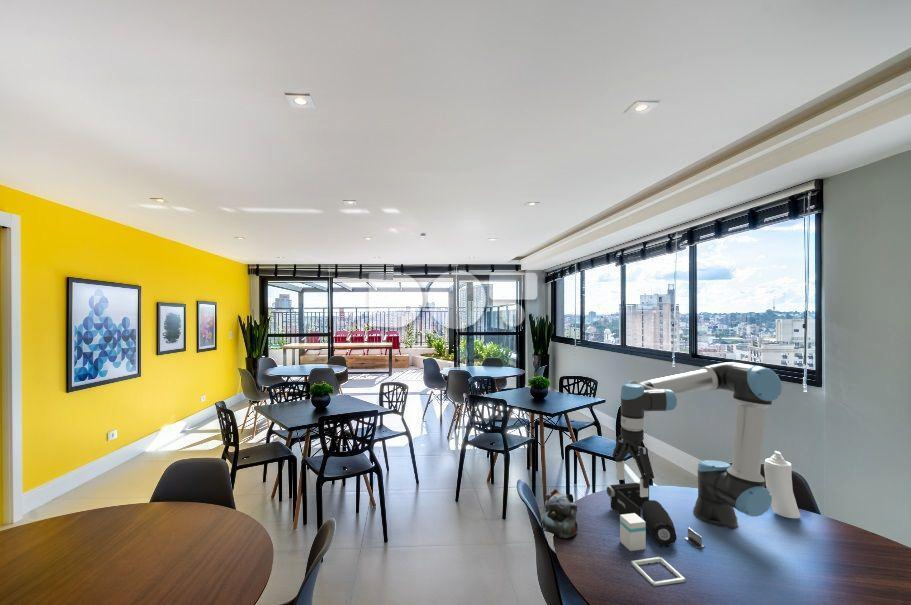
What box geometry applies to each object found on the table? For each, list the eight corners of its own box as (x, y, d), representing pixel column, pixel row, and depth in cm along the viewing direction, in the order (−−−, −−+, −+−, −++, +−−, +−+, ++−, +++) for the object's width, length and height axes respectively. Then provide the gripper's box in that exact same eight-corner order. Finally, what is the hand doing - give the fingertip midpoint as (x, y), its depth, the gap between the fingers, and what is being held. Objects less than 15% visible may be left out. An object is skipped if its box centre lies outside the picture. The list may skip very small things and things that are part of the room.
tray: (660, 562, 135) (660, 556, 135) (685, 584, 125) (685, 578, 125) (631, 566, 133) (631, 560, 133) (653, 590, 122) (653, 583, 122)
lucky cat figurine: (533, 526, 157) (535, 489, 158) (553, 517, 165) (554, 483, 165) (565, 544, 145) (566, 505, 146) (585, 534, 153) (586, 497, 153)
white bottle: (791, 522, 159) (790, 459, 159) (760, 510, 169) (760, 450, 169) (804, 514, 165) (804, 453, 165) (773, 503, 174) (773, 445, 174)
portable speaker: (682, 530, 142) (667, 503, 160) (654, 519, 144) (643, 494, 163) (675, 552, 142) (661, 523, 161) (647, 541, 144) (636, 514, 163)
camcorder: (606, 506, 173) (606, 483, 173) (644, 502, 176) (644, 479, 176) (635, 533, 153) (635, 506, 153) (678, 527, 156) (677, 501, 156)
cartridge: (634, 540, 148) (634, 512, 148) (645, 550, 142) (645, 521, 142) (619, 542, 147) (619, 514, 147) (630, 552, 141) (630, 523, 141)
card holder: (691, 537, 149) (691, 527, 149) (704, 547, 143) (704, 536, 143) (684, 538, 149) (684, 528, 149) (697, 548, 143) (697, 537, 143)
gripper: (603, 418, 156) (602, 473, 156) (645, 440, 131) (645, 505, 131) (620, 417, 157) (620, 472, 157) (666, 439, 133) (665, 503, 133)
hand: (631, 487), depth 144 cm, fingers open, 13 cm apart
